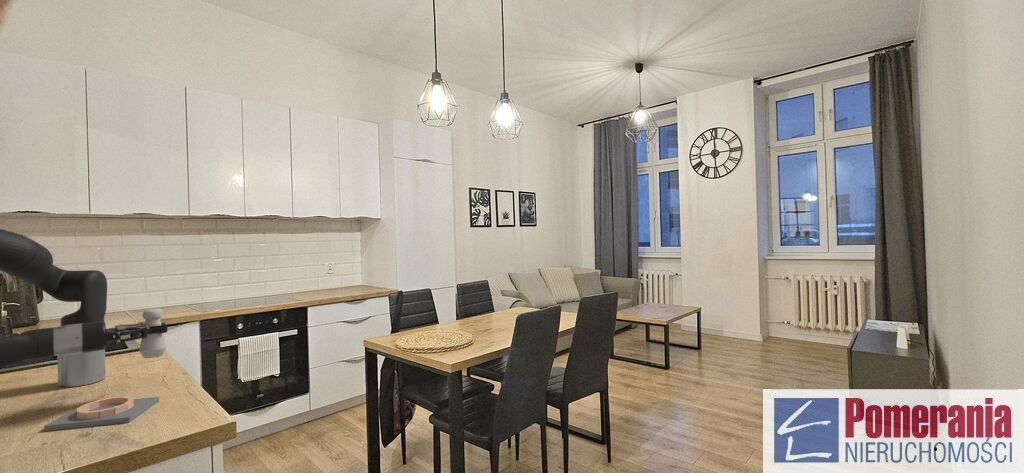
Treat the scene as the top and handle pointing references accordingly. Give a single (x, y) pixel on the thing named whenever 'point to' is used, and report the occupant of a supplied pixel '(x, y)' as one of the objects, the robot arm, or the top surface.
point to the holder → (103, 413)
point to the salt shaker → (154, 342)
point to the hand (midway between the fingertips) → (165, 327)
